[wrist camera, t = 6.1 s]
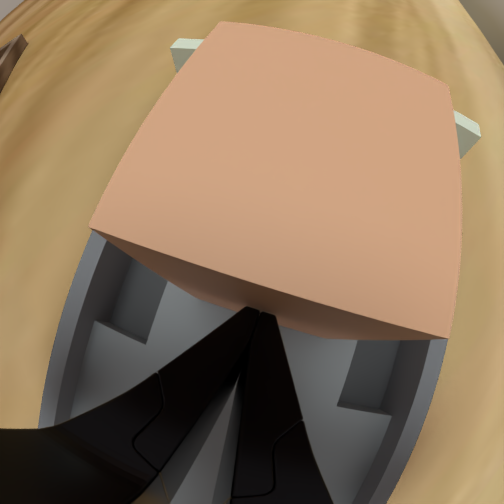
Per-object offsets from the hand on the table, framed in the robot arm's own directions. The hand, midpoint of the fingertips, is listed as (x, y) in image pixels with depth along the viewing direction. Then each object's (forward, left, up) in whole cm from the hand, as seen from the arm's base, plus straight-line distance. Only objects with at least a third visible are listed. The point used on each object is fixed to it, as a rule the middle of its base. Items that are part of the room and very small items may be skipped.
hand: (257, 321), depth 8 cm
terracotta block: (+3, -2, -5) cm, 6 cm away
